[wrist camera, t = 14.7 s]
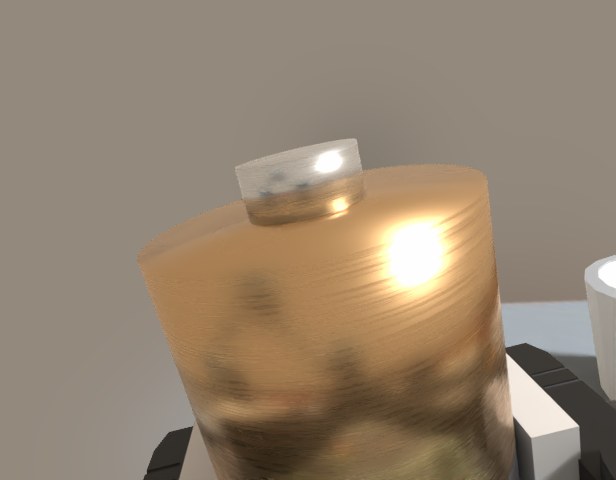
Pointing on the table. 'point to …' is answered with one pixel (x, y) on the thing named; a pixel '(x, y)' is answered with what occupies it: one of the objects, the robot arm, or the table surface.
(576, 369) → the table surface
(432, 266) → the cell
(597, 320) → the white cup
